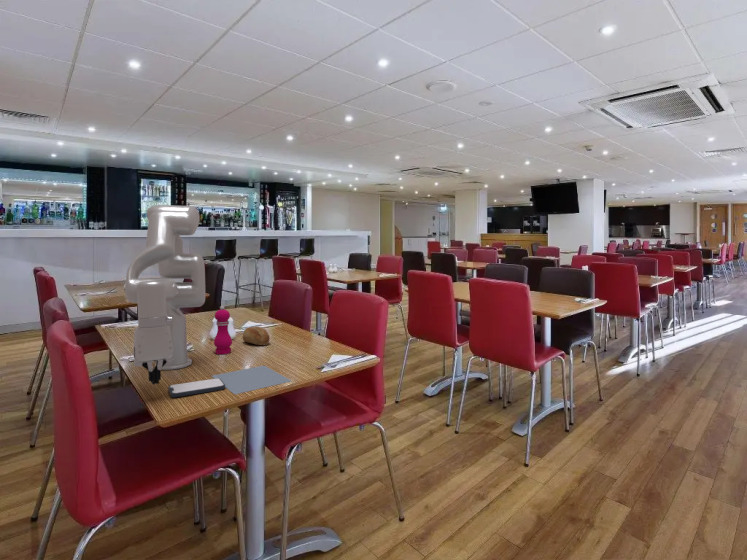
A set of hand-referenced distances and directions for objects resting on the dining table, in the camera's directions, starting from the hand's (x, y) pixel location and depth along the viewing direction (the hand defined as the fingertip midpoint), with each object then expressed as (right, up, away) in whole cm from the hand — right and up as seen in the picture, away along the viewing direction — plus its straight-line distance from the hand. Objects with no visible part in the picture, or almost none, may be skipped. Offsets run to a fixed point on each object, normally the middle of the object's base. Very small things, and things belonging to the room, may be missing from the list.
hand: (154, 382), depth 127 cm
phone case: (+9, -5, +9) cm, 14 cm away
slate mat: (+23, -3, +20) cm, 31 cm away
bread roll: (+12, +1, +67) cm, 68 cm away
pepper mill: (+2, 0, +52) cm, 52 cm away
